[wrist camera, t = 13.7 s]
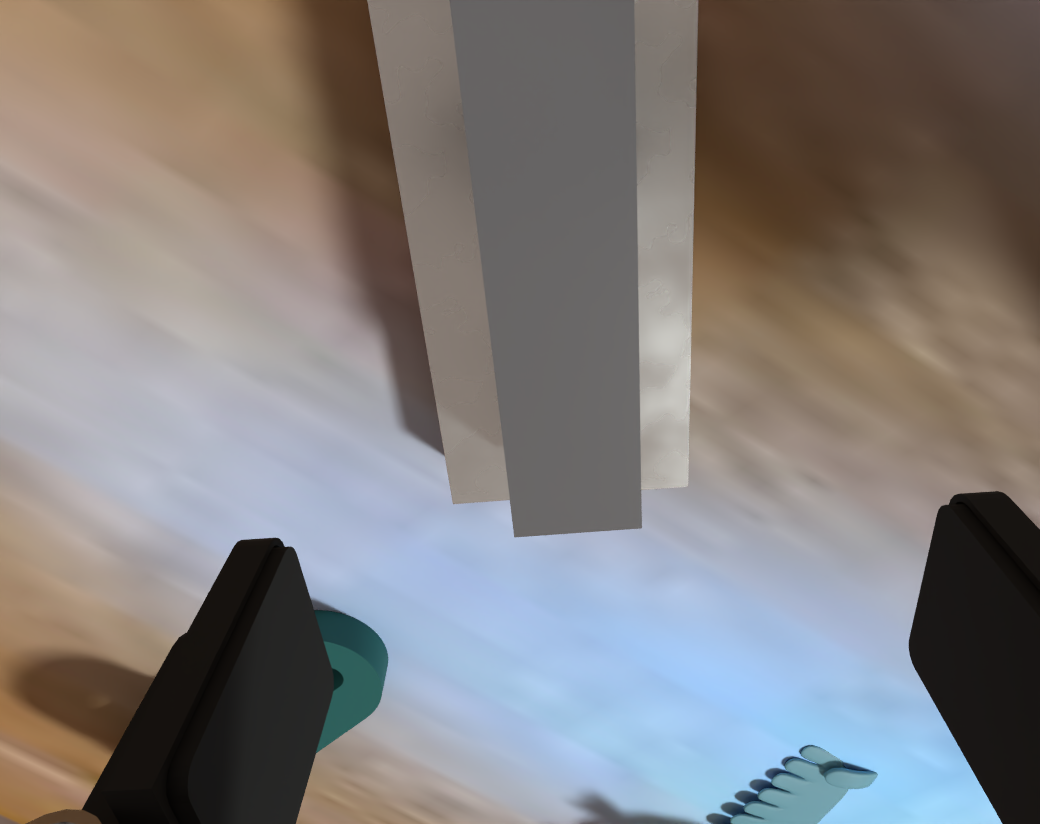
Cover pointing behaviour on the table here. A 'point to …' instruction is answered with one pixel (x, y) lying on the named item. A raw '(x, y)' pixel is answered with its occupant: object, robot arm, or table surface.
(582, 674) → the table surface
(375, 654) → the bracket
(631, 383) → the grey bar
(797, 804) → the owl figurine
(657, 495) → the table surface
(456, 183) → the mounting plate
